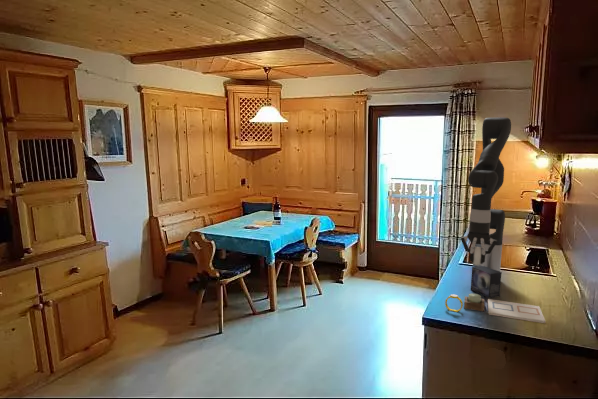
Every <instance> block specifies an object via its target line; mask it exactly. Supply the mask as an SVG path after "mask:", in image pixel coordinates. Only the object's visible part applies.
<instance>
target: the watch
mask: <svg viewBox="0 0 598 399" xmlns="http://www.w3.org/2000/svg"><path fill="white" fill-rule="evenodd" d="M449 299H457V300H458V301H459V303H460V308H459V309H454V308H453V309H452V308H450V307H449V306H448V303H447V302H448V300H449ZM444 304H445V307H446V309H447V310H448V311H450V312H456V313H458V312H461V310H462V309H463V308H464V302H463V301H462V299H461V298H460V296H459V295H457V294H454V293H452V294H450V295H449V296H448V297H447V298H446V299H445V301H444Z"/></svg>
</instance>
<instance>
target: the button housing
mask: <svg viewBox="0 0 598 399" xmlns="http://www.w3.org/2000/svg"><path fill="white" fill-rule="evenodd" d="M485 305H486V304H485V299H484V298H481V303H474V302H468V296H466V295H465V296H464V301H463V309H466V310H472V311H479V312H485Z"/></svg>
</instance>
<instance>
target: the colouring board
mask: <svg viewBox="0 0 598 399" xmlns="http://www.w3.org/2000/svg"><path fill="white" fill-rule="evenodd" d="M487 308H488V310H487V311H488V315H490V316H496V317H497V316H498V317H504V318H509V319H515V320H521V321H527V322H528V321H529V322H532V323H533V322H534V323H540V324H546V322H547V321H546V319H545V316H544V315H543V314H544V313H543V312H542V309H541V307H540V305H534V304H533V305H532V304H527V303H526V304H525V303H519V302H511V301H505V300H498V299H492V298H488V299H487Z"/></svg>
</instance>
